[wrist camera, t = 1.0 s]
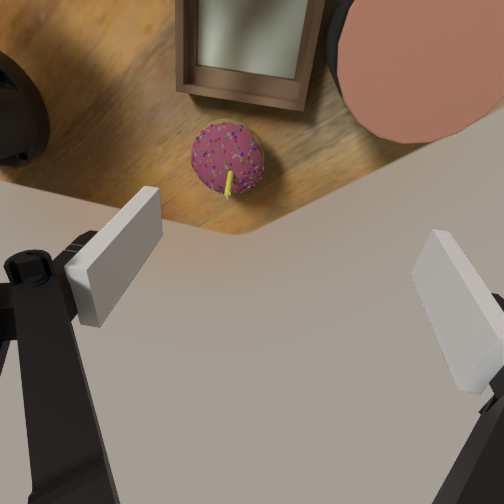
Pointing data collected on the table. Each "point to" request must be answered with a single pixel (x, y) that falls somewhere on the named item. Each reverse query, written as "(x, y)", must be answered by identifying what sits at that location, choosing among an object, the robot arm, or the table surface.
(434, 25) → the coffee jar
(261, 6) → the walled box
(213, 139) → the cupcake
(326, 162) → the table surface
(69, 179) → the table surface
